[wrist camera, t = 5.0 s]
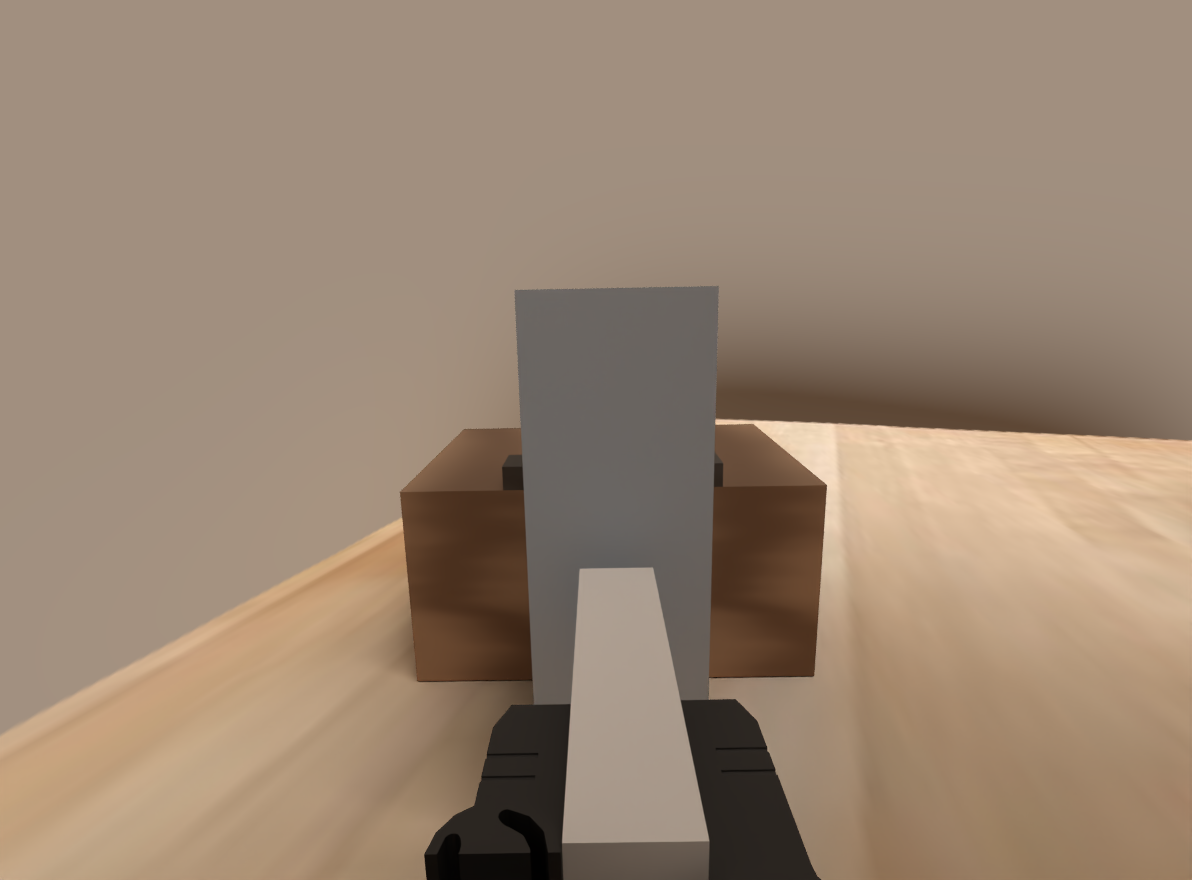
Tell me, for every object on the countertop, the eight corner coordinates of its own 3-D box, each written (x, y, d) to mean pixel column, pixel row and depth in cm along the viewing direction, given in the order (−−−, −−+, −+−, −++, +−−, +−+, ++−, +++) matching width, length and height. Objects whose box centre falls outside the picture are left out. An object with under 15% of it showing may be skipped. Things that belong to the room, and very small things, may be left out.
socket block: (748, 559, 32) (754, 407, 30) (814, 675, 22) (828, 461, 20) (473, 563, 32) (463, 412, 30) (417, 680, 22) (397, 468, 20)
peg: (668, 654, 23) (672, 290, 20) (704, 838, 15) (718, 286, 12) (560, 655, 23) (547, 292, 20) (540, 840, 15) (514, 290, 12)
